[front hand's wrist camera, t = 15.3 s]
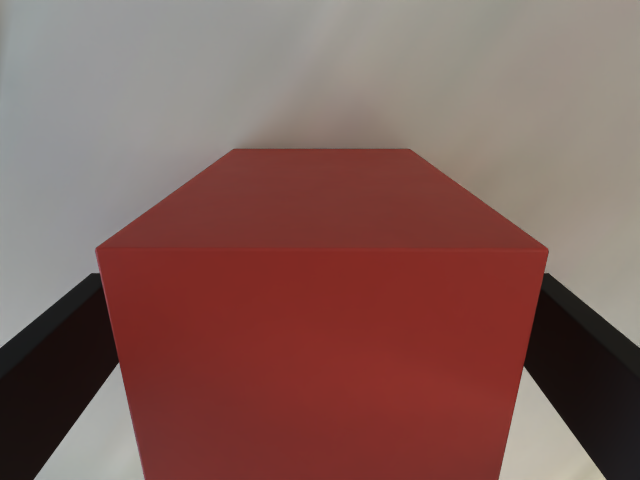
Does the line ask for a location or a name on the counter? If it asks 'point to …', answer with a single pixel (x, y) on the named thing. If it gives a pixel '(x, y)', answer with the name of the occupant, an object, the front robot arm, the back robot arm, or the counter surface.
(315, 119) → the counter surface
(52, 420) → the front robot arm
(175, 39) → the counter surface
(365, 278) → the brick
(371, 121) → the counter surface
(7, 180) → the counter surface
